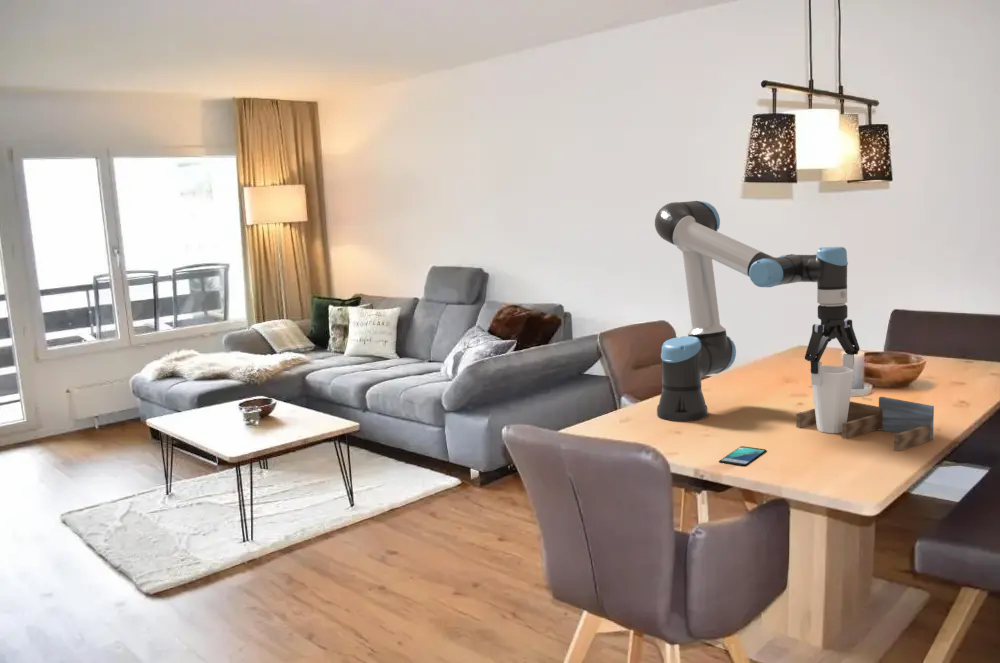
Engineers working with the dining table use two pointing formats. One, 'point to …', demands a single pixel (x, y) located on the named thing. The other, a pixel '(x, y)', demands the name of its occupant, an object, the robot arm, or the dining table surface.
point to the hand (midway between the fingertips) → (832, 381)
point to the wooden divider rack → (884, 421)
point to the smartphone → (742, 456)
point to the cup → (832, 398)
